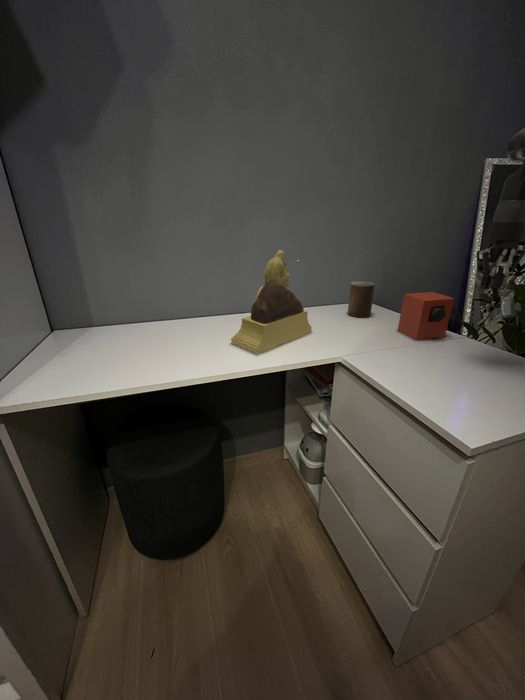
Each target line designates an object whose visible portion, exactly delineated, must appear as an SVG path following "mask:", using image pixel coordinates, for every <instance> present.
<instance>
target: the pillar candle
mask: <svg viewBox="0 0 525 700" xmlns="http://www.w3.org/2000/svg"><path fill="white" fill-rule="evenodd" d="M375 284H376V283H374V282H370V281H362V280H361V281H351V282H350V290H349V300H348V308H347V315H348V316H351V317H354V318H358V319H359V318H362V319H363V318H364V319H365V318H369V317H371V315H372V308H373V307H372V306H373V301H374V292H375Z"/></svg>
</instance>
